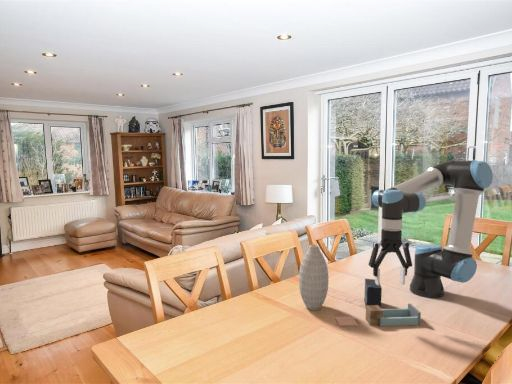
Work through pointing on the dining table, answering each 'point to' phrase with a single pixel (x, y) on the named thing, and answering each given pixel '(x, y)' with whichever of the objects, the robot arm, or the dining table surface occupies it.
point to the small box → (372, 293)
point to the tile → (346, 321)
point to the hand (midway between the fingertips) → (389, 283)
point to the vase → (313, 278)
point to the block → (373, 314)
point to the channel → (407, 316)
